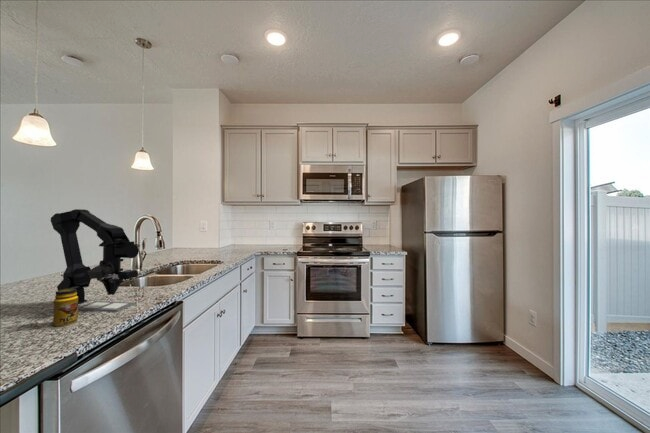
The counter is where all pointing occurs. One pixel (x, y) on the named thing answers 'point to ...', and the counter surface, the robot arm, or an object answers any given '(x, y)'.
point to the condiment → (65, 309)
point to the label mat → (105, 306)
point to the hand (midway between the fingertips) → (111, 294)
